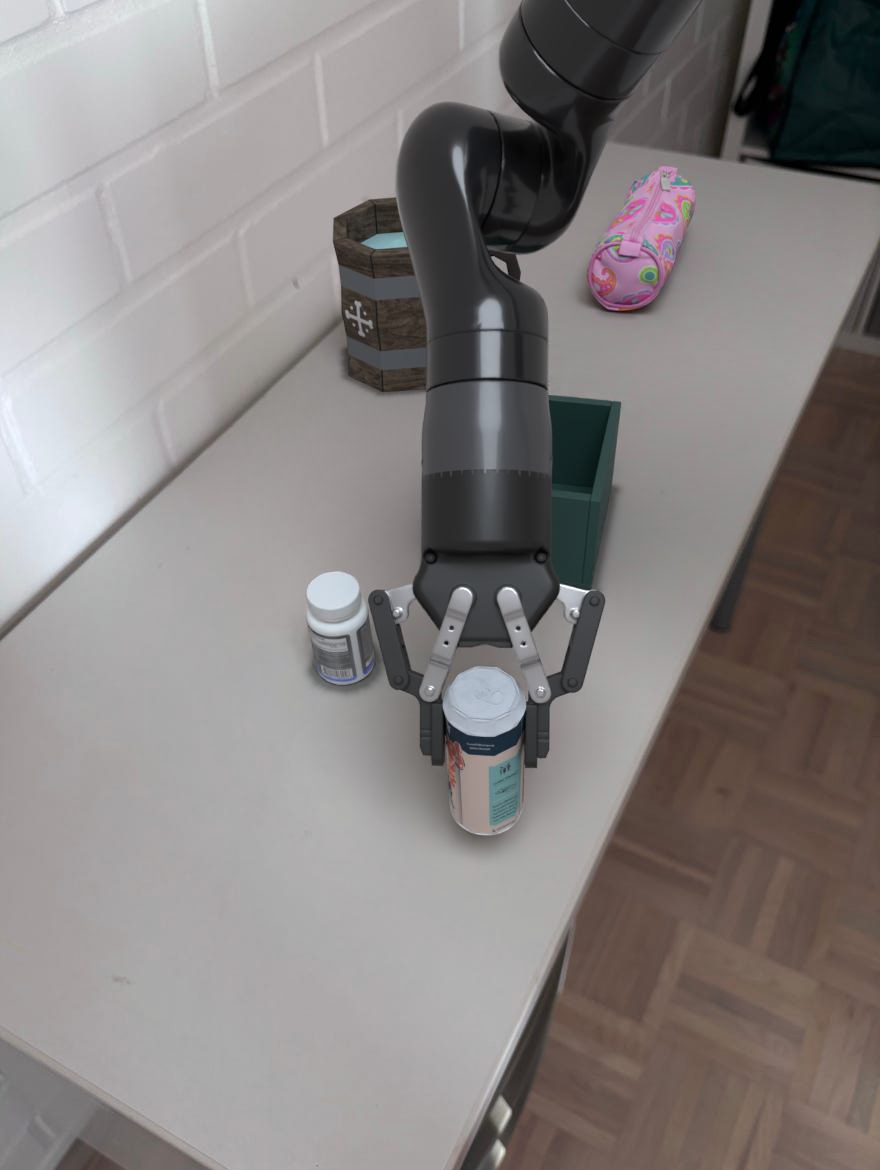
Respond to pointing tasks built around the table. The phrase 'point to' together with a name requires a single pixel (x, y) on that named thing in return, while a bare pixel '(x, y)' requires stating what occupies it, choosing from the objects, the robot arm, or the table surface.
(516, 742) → the beer can
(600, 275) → the pencil case
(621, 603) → the table surface
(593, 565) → the bin
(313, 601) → the pill bottle
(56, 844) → the table surface
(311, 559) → the table surface
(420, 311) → the mug
